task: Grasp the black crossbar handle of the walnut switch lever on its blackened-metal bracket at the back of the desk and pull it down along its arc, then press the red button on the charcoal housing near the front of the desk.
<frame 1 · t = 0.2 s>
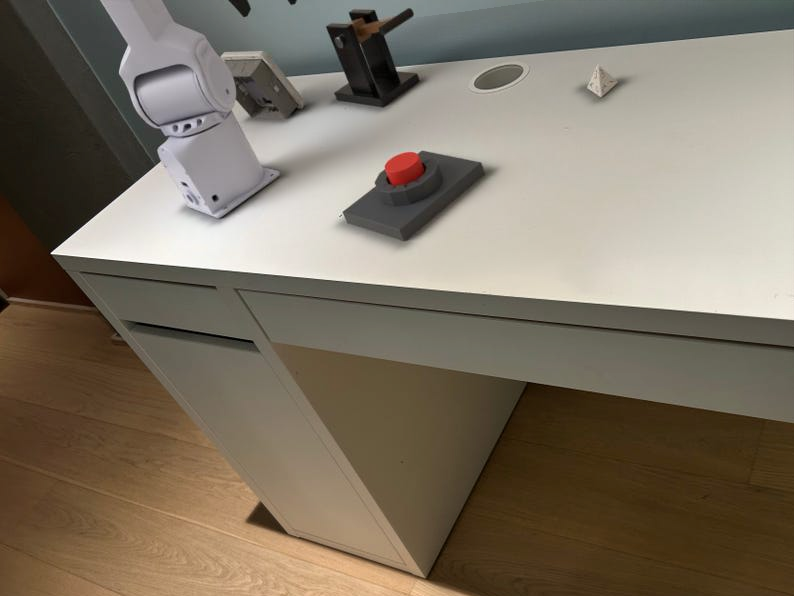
hand: (270, 7, 103), 11 cm above the table, tool pointing down, fingers open, 7 cm apart
electrical switch: (275, 116, 102), on the table
bracket: (378, 91, 98), on the table
tetrahedral die: (598, 91, 80), on the table
button box: (415, 198, 74), on the table
lever: (373, 27, 89), point 9 cm above the table, hinge at 10.0°
button: (404, 169, 72), point 3 cm above the table, slide at 0.1 cm
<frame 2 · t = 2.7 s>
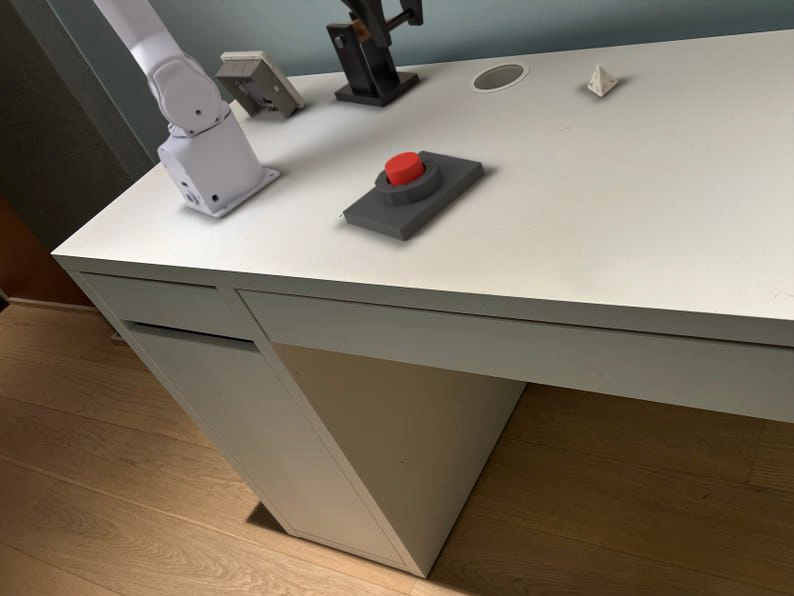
hand: (400, 35, 87), 8 cm above the table, tool pointing down, fingers closed on lever, 5 cm apart
lever: (373, 27, 89), point 9 cm above the table, hinge at 10.0°, touching gripper
everything else where it was.
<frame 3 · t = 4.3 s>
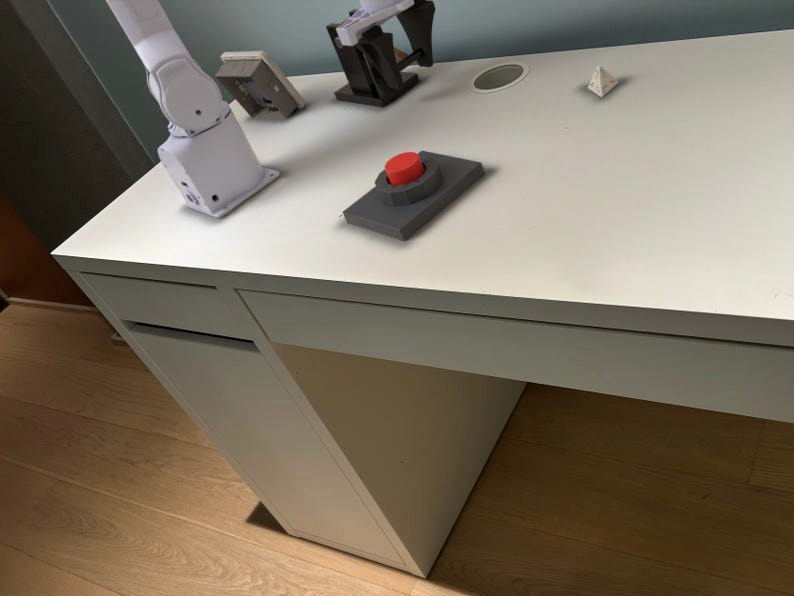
hand: (411, 76, 91), 3 cm above the table, tool pointing down, fingers closed on lever, 5 cm apart
lever: (378, 45, 91), point 7 cm above the table, hinge at -21.5°, touching gripper
everything else where it was.
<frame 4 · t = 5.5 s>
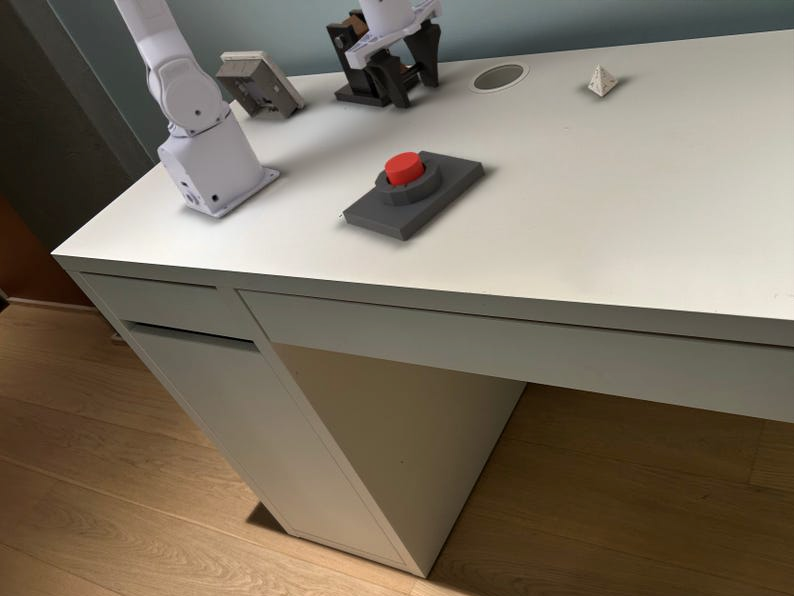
hand: (417, 97, 93), 0 cm above the table, tool pointing down, fingers closed on lever, 5 cm apart
lever: (378, 51, 92), point 6 cm above the table, hinge at -34.4°, touching gripper
everything else where it was.
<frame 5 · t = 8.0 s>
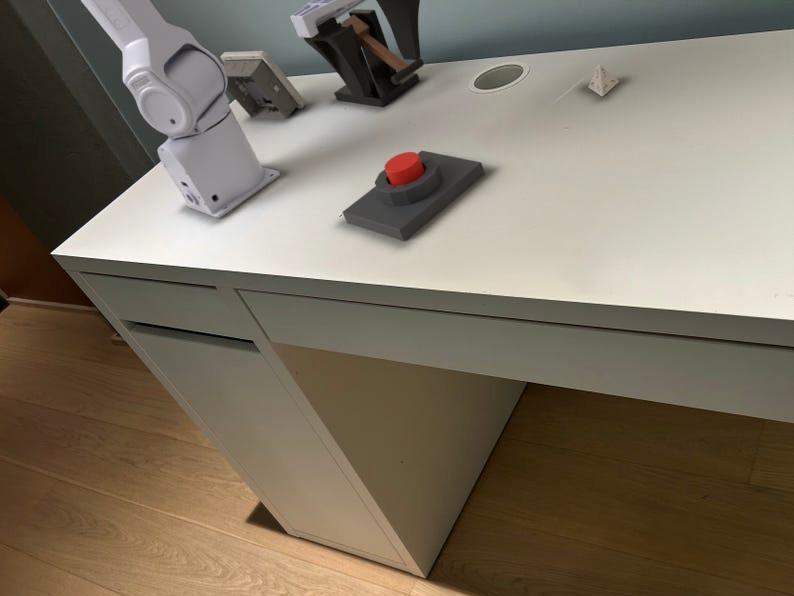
hand: (387, 76, 74), 9 cm above the table, tool pointing down, fingers open, 7 cm apart
lever: (378, 49, 91), point 6 cm above the table, hinge at -30.9°
everything else where it was.
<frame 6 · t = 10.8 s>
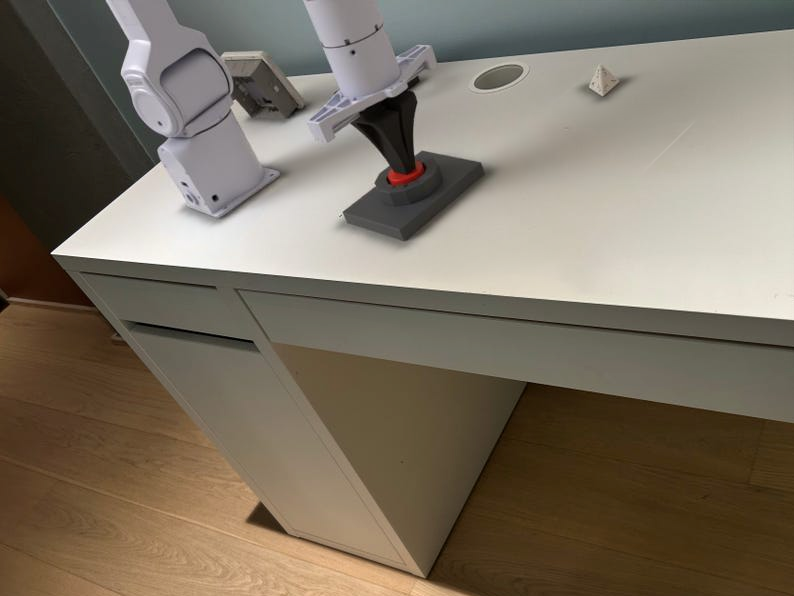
hand: (405, 170, 72), 3 cm above the table, tool pointing down, fingers closed, pressing on button
button: (407, 177, 72), point 2 cm above the table, slide at -0.9 cm, touching gripper
everything else where it was.
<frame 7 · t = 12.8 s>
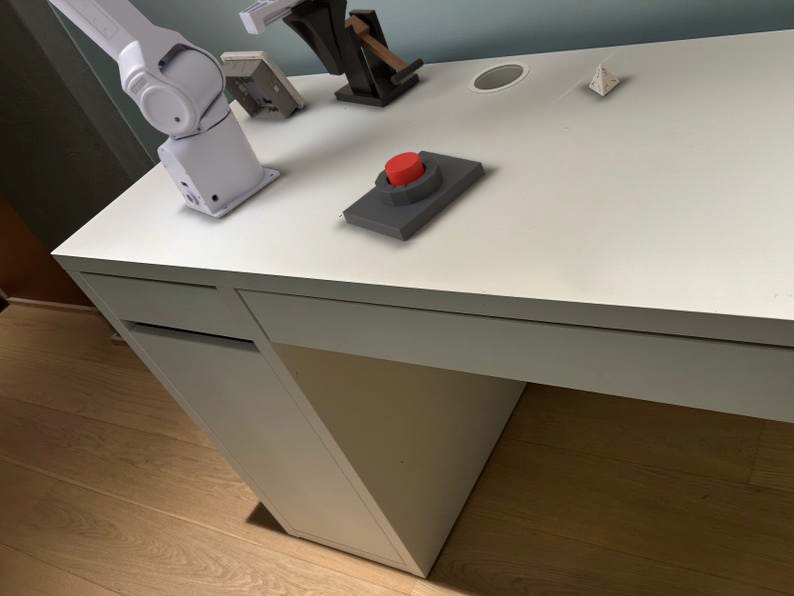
hand: (339, 72, 76), 10 cm above the table, tool pointing down, fingers closed
button: (404, 169, 72), point 3 cm above the table, slide at 0.1 cm
everything else where it was.
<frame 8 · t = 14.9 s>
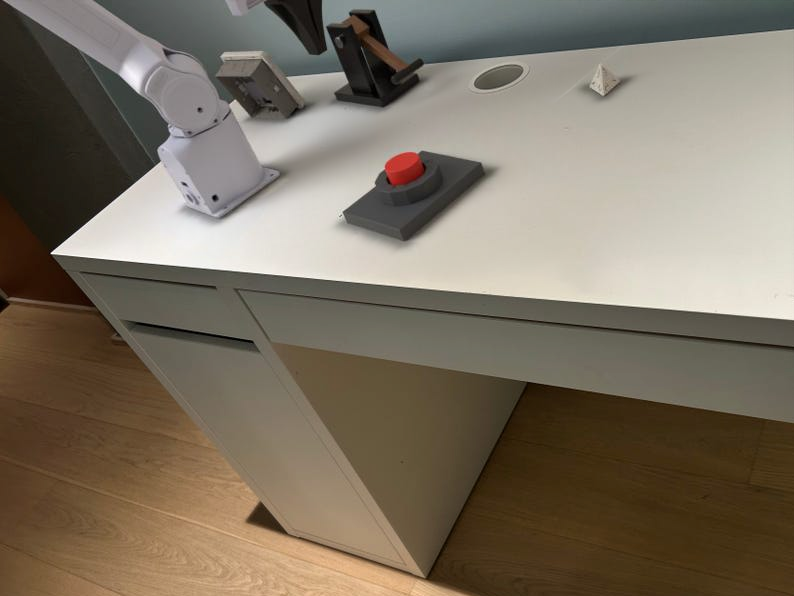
hand: (318, 52, 83), 10 cm above the table, tool pointing down, fingers closed
nothing on the table moved.
at the end: lever at -31° (first picture: +10°); button pushed in 1.0 cm at the most during the clip, back to where it started at the end; button slide at 0.1 cm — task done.
